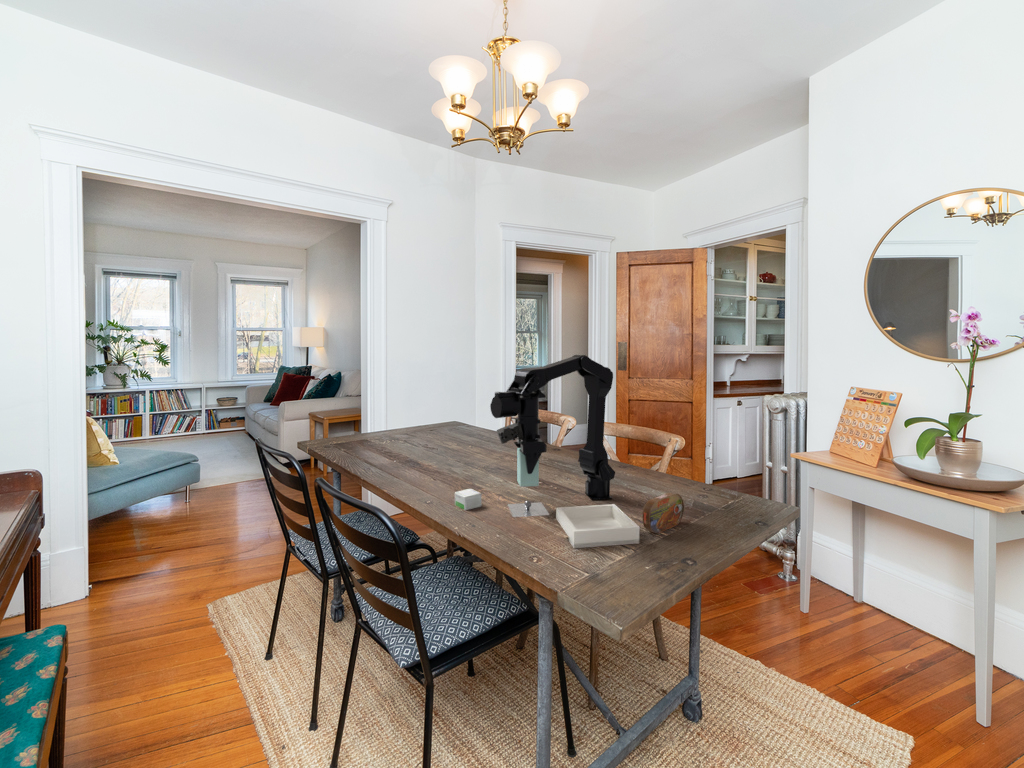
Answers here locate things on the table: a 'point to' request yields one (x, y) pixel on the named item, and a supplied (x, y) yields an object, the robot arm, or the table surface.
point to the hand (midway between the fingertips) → (527, 471)
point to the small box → (468, 499)
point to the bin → (597, 526)
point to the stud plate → (527, 509)
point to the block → (522, 474)
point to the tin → (663, 512)
